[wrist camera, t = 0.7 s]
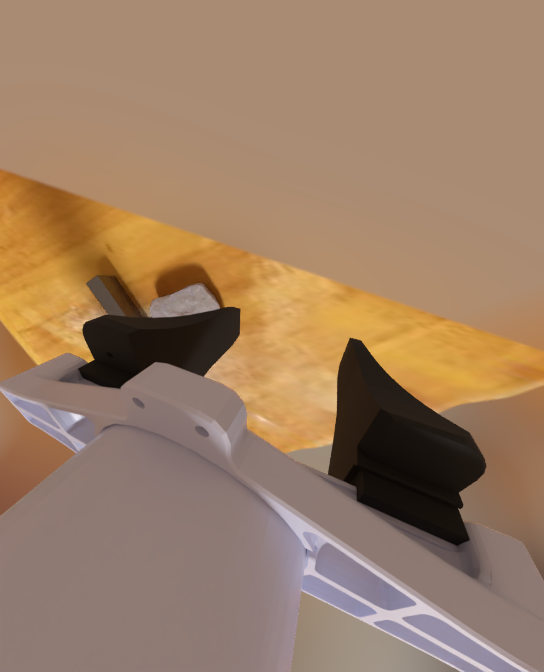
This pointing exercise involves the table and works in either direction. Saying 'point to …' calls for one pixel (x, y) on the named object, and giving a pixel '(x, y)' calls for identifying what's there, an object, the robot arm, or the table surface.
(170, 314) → the stone block
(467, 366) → the table surface
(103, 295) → the bar
